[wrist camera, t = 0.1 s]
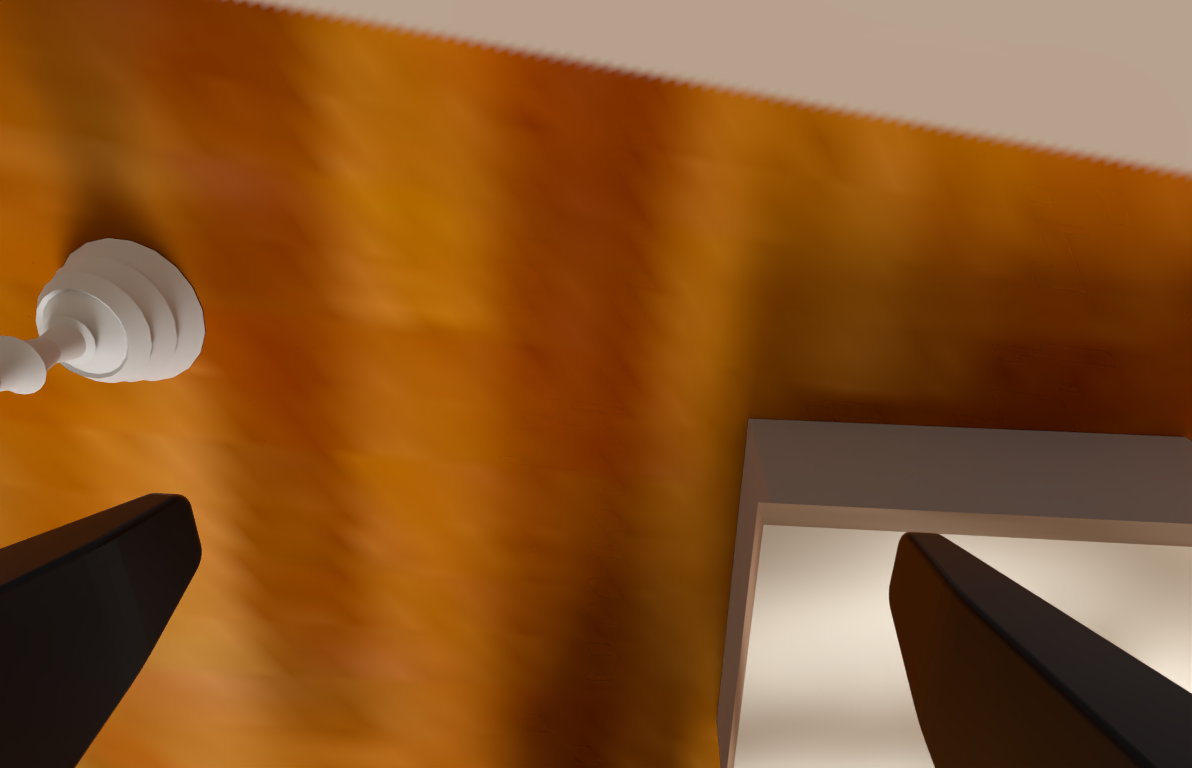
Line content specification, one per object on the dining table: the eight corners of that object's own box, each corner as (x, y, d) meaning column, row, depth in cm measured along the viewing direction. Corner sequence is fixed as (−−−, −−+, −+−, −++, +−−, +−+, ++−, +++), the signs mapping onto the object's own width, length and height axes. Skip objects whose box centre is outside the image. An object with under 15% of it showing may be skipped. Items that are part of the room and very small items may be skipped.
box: (1068, 746, 29) (1165, 905, 23) (716, 722, 30) (730, 869, 24) (1185, 436, 23) (1350, 549, 18) (748, 418, 24) (775, 519, 19)
